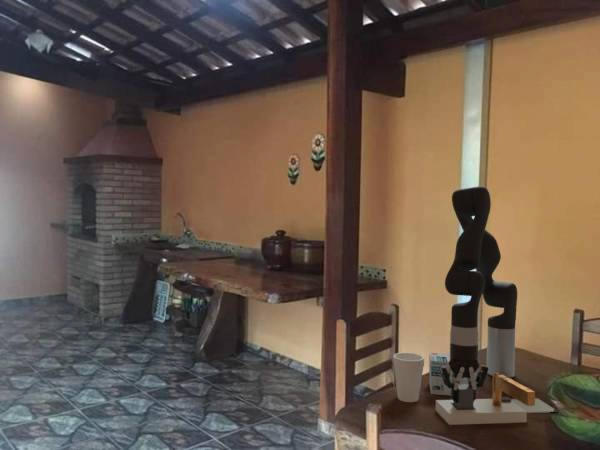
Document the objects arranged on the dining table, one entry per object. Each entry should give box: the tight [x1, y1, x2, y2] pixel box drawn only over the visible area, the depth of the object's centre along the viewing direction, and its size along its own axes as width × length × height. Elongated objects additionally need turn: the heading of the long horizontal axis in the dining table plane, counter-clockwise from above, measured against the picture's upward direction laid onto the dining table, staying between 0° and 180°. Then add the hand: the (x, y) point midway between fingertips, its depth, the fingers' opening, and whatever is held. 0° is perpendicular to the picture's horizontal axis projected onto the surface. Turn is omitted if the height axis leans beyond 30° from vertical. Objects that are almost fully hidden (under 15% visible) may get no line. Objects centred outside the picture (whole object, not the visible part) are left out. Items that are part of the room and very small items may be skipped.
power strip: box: [435, 396, 528, 426], centre depth 140 cm, size 10×22×4 cm, turn 96°
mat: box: [510, 398, 555, 414], centre depth 148 cm, size 10×10×1 cm
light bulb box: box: [428, 352, 453, 397], centre depth 162 cm, size 11×7×11 cm, turn 168°
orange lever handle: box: [491, 372, 536, 406], centre depth 134 cm, size 2×16×9 cm, turn 11°
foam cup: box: [392, 352, 425, 403], centre depth 153 cm, size 10×9×13 cm
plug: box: [454, 383, 474, 410], centre depth 140 cm, size 4×4×8 cm
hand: (463, 401), depth 140 cm, fingers closed on plug, 4 cm apart
